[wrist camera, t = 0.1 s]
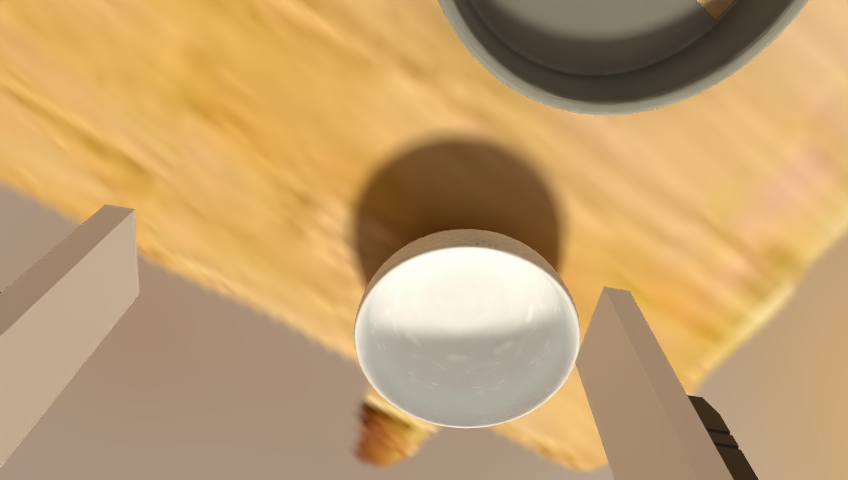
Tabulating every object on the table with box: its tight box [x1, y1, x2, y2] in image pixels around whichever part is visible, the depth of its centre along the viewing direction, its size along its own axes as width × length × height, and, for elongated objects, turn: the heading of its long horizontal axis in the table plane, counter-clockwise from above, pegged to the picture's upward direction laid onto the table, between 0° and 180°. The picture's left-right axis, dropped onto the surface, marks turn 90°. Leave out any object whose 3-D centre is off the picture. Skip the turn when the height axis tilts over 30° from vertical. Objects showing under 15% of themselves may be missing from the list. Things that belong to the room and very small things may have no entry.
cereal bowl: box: [354, 229, 580, 428], centre depth 47 cm, size 17×17×7 cm
